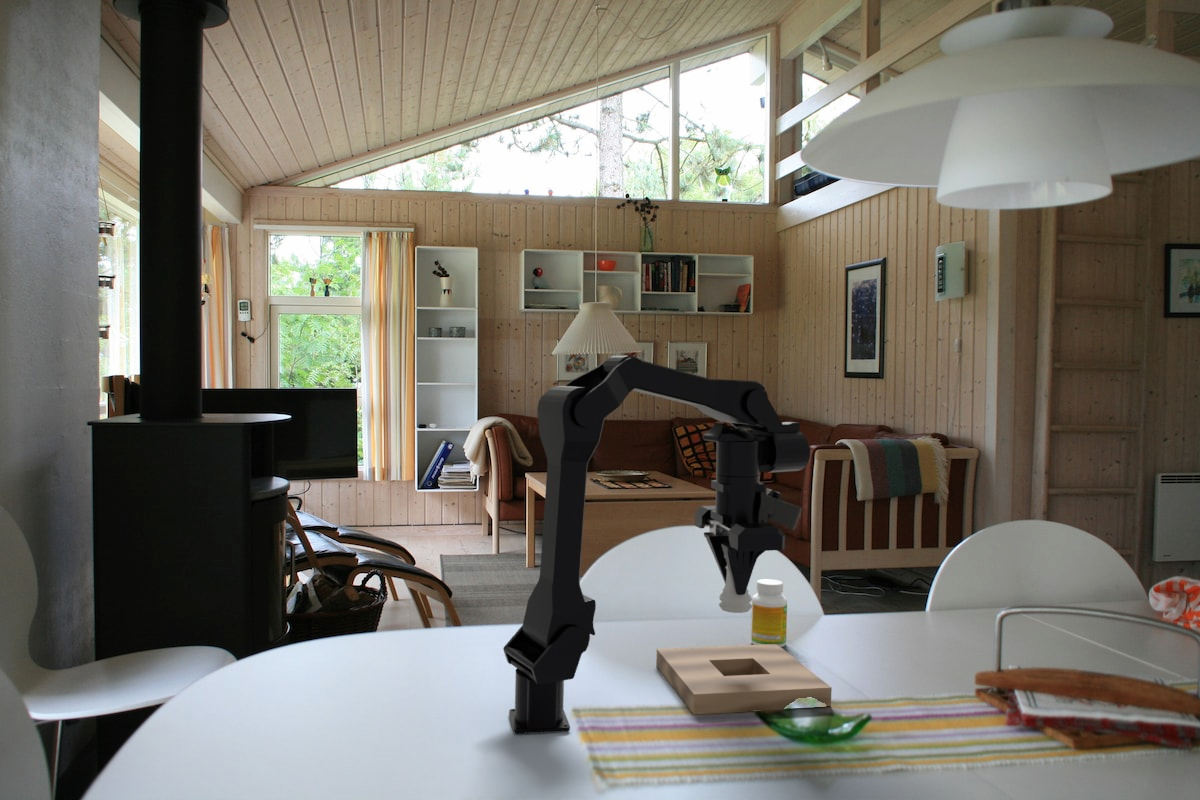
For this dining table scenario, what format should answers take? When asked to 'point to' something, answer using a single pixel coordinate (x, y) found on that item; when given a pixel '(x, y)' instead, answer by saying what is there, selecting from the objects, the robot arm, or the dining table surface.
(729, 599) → the rook chess piece
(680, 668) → the socket block
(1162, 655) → the dining table surface
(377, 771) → the dining table surface
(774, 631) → the supplement bottle
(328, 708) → the dining table surface
